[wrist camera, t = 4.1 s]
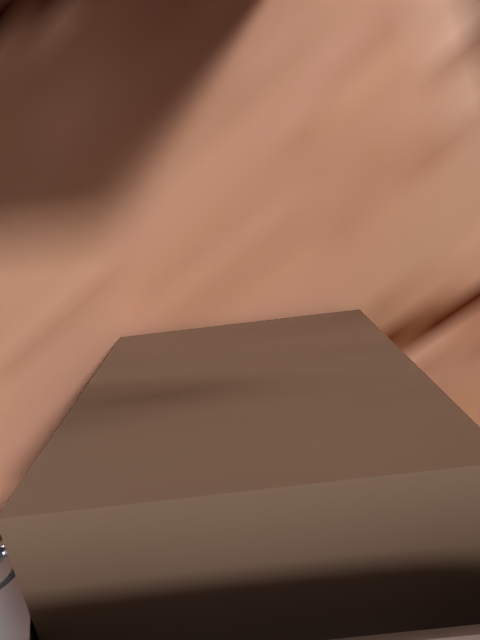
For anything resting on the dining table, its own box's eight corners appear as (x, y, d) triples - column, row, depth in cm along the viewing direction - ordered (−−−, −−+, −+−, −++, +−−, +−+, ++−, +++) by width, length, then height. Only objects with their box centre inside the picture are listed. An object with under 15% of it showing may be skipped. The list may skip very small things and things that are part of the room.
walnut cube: (364, 504, 12) (480, 779, 7) (161, 527, 12) (105, 819, 7) (359, 309, 11) (514, 461, 5) (120, 337, 11) (-5, 519, 5)
